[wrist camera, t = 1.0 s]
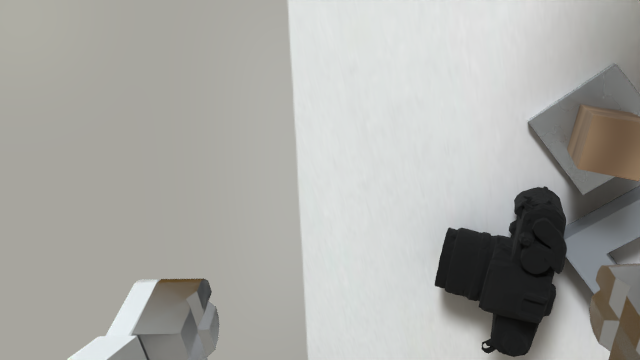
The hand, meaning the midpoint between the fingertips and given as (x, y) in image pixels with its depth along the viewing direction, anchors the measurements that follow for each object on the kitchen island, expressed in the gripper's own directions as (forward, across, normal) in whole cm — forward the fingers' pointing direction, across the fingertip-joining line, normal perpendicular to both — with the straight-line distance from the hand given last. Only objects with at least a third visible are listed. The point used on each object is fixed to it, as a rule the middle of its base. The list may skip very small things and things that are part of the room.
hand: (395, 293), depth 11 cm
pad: (+33, -19, +14) cm, 40 cm away
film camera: (+32, -11, +25) cm, 42 cm away
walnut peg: (+32, -19, +13) cm, 39 cm away
